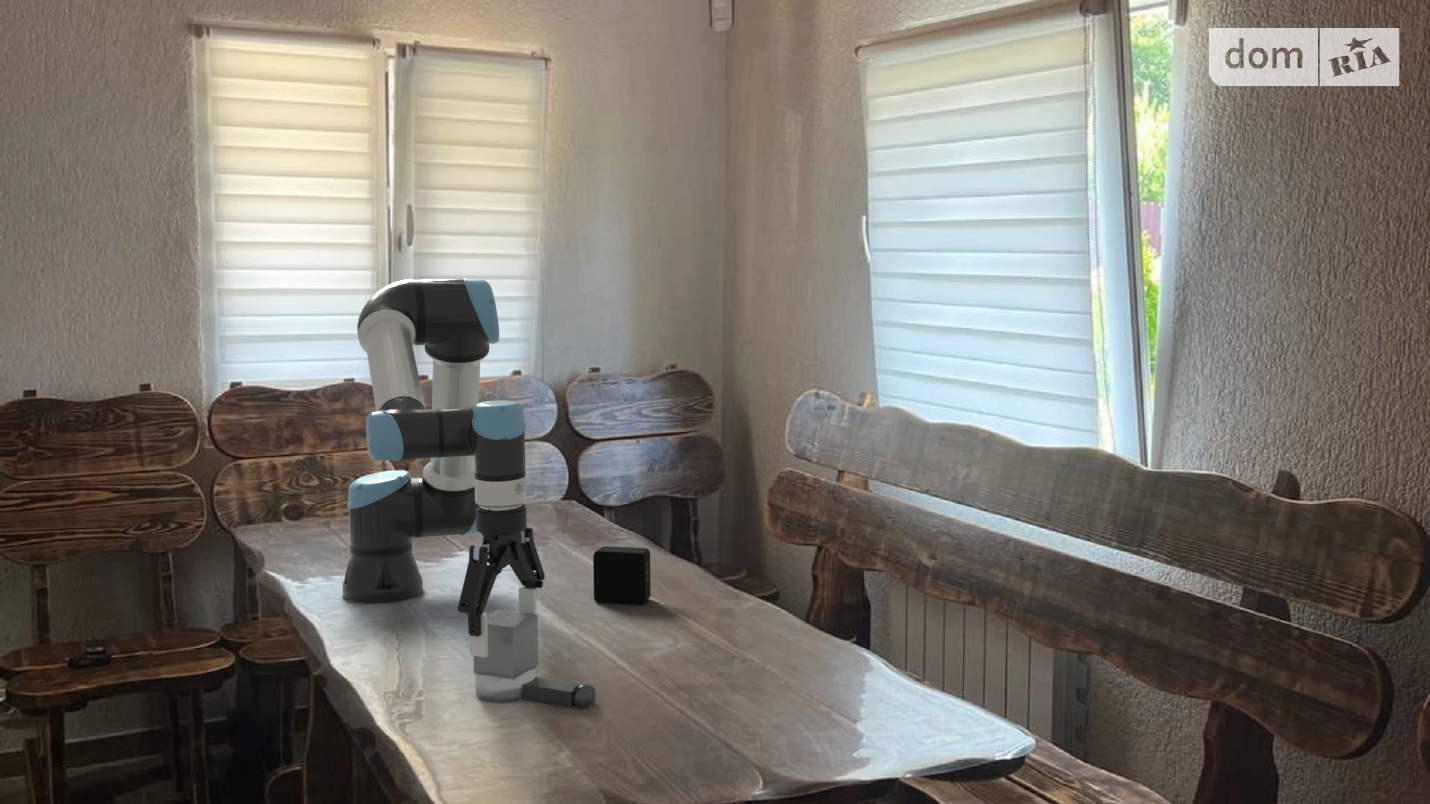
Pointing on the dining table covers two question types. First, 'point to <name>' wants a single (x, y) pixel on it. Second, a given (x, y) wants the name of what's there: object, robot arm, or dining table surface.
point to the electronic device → (621, 575)
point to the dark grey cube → (509, 645)
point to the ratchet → (534, 690)
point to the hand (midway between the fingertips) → (504, 642)
